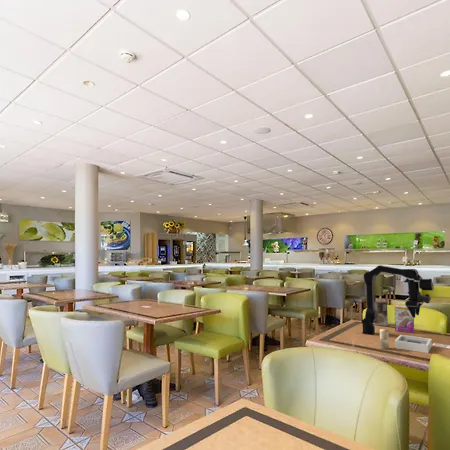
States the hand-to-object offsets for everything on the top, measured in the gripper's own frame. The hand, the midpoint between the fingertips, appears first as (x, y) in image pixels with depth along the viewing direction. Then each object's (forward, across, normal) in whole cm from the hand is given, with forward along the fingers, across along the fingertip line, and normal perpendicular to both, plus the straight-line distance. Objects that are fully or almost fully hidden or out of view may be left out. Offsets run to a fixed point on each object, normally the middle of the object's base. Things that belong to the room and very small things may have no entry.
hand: (415, 316), depth 208 cm
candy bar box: (+14, +20, +12) cm, 27 cm away
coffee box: (+13, +32, +31) cm, 46 cm away
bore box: (+14, -15, -1) cm, 21 cm away
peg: (+14, -28, +11) cm, 33 cm away
